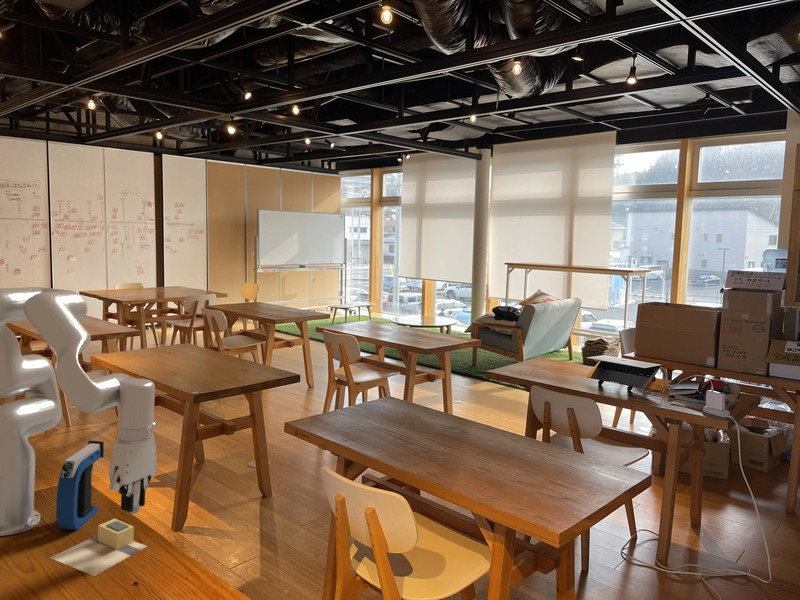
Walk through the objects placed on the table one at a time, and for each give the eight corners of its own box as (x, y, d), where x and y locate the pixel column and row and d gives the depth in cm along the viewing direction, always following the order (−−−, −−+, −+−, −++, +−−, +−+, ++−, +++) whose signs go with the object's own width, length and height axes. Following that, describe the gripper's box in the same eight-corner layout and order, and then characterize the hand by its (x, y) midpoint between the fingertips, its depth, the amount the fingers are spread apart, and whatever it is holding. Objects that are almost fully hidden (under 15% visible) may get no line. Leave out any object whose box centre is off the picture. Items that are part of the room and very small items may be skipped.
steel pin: (122, 512, 139) (124, 476, 138) (132, 506, 142) (134, 471, 141) (133, 515, 138) (135, 479, 137) (143, 509, 141) (145, 474, 140)
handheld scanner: (103, 510, 161) (105, 440, 159) (73, 539, 145) (74, 462, 143) (86, 509, 161) (88, 439, 159) (54, 538, 145) (55, 461, 143)
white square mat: (50, 562, 135) (50, 557, 135) (105, 534, 149) (105, 530, 149) (94, 580, 130) (94, 575, 130) (147, 550, 143) (147, 546, 143)
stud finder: (97, 541, 144) (98, 524, 143) (114, 533, 148) (114, 517, 147) (117, 550, 141) (117, 532, 140) (133, 542, 145) (134, 525, 144)
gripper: (150, 420, 147) (147, 492, 149) (94, 438, 132) (91, 517, 134) (173, 426, 144) (170, 499, 146) (118, 445, 129) (116, 525, 131)
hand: (132, 507), depth 140 cm, fingers closed on steel pin, 2 cm apart
